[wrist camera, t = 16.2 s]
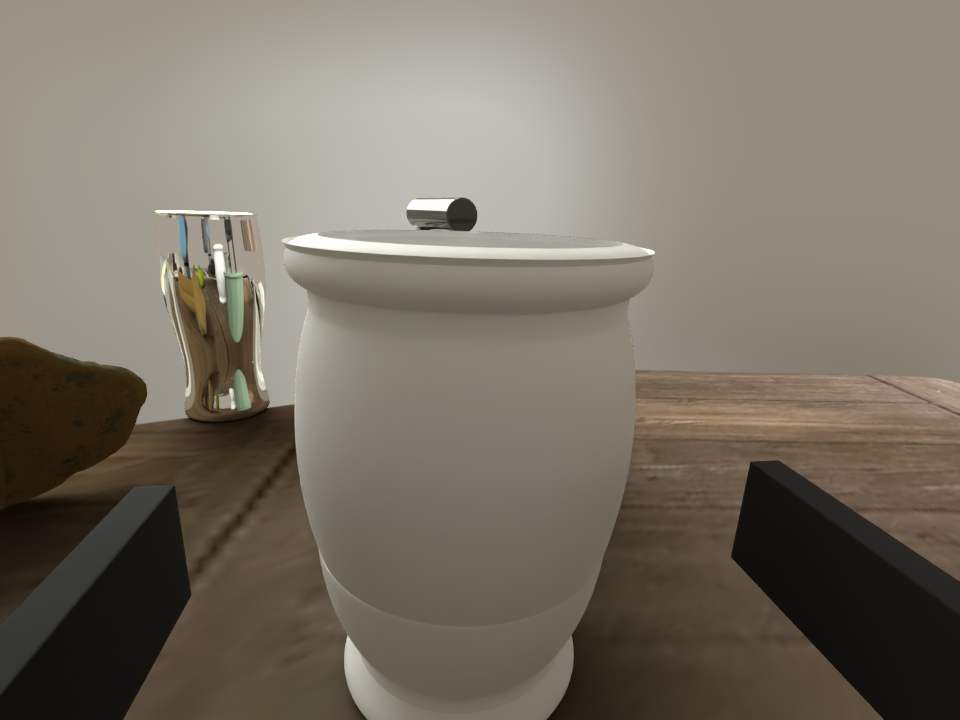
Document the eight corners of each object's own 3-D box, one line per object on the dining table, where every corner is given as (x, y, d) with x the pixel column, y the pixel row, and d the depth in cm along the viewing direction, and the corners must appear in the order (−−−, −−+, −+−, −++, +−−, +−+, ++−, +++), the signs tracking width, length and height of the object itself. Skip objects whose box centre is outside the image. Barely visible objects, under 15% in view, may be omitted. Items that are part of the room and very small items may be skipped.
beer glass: (156, 420, 38) (124, 210, 33) (217, 389, 44) (196, 210, 40) (243, 429, 37) (220, 213, 33) (291, 396, 43) (278, 214, 39)
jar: (525, 895, 12) (581, 262, 8) (246, 691, 17) (189, 230, 13) (633, 611, 21) (687, 241, 17) (429, 530, 26) (432, 227, 22)
